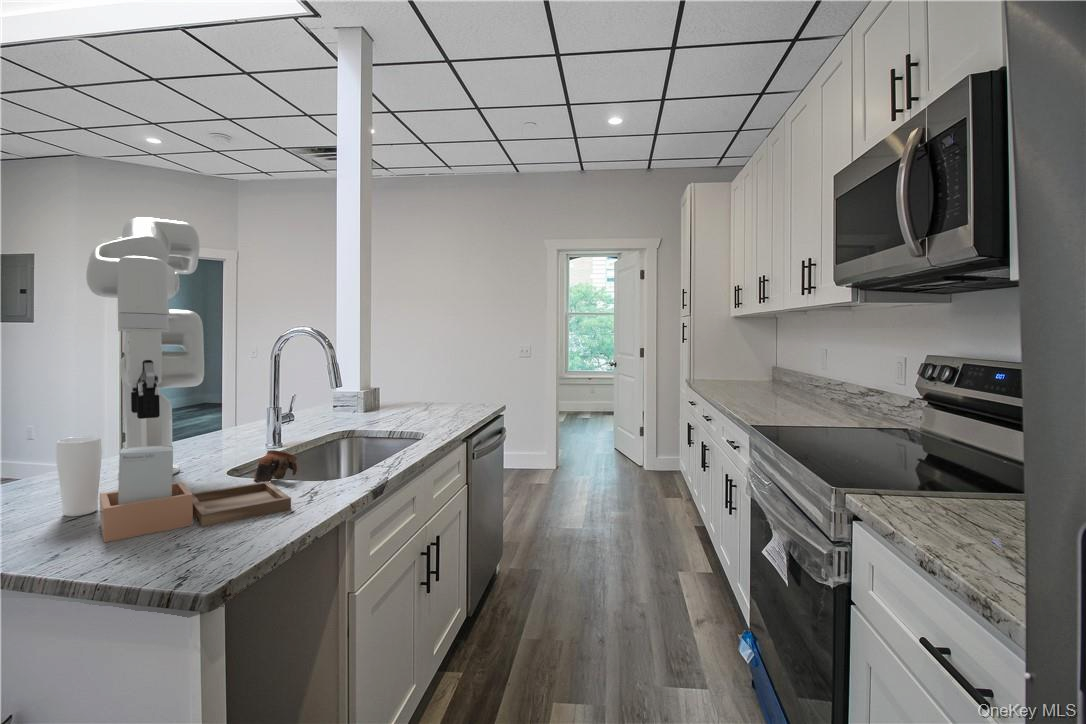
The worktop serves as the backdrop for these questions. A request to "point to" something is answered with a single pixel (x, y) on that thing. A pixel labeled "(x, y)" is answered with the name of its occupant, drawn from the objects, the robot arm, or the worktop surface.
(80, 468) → the drinking glass
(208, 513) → the walnut tray
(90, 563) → the worktop surface
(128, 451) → the skincare box
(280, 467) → the brown irregular lump
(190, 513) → the open rectangular tray
